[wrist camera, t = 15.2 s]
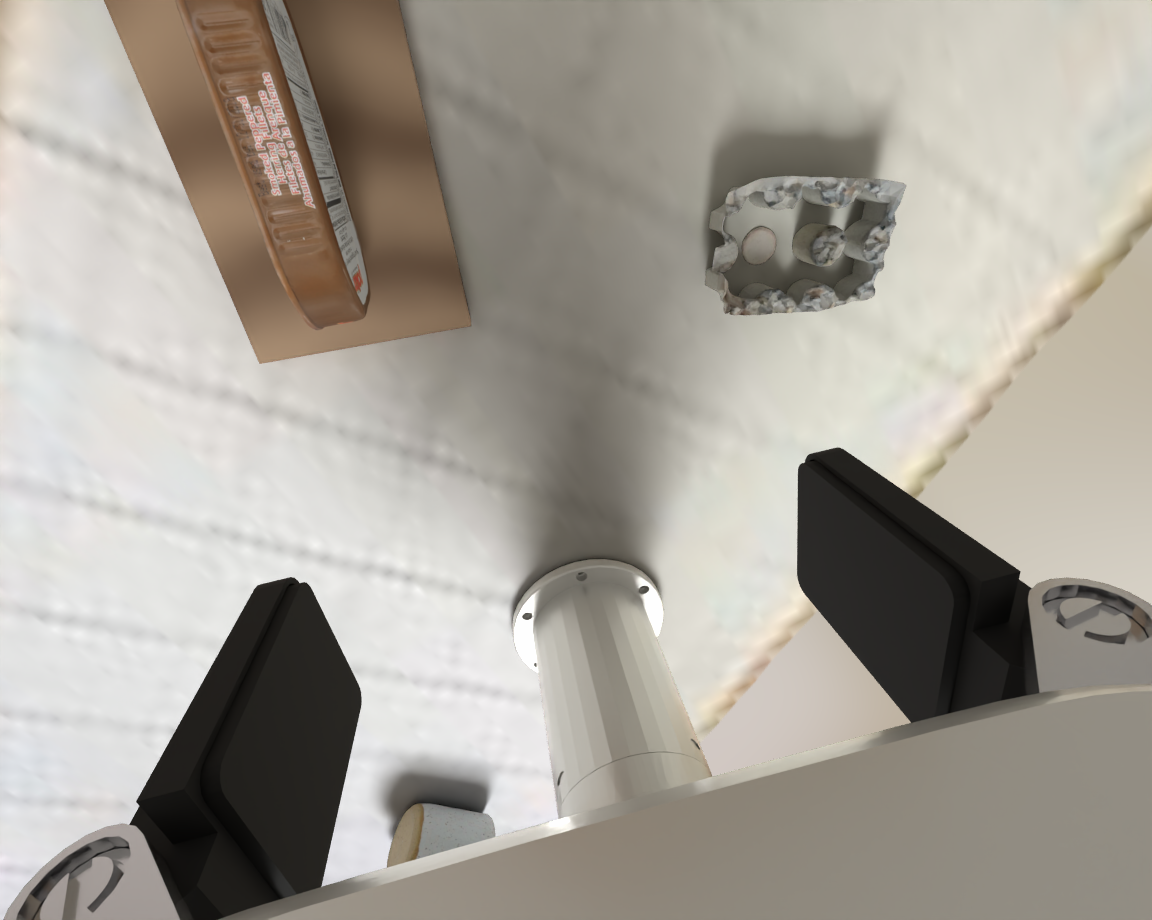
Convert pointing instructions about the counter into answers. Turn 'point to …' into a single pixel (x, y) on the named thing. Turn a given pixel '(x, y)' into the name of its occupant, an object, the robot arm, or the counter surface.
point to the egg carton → (808, 242)
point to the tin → (282, 152)
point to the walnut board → (365, 158)
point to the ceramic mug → (436, 831)
